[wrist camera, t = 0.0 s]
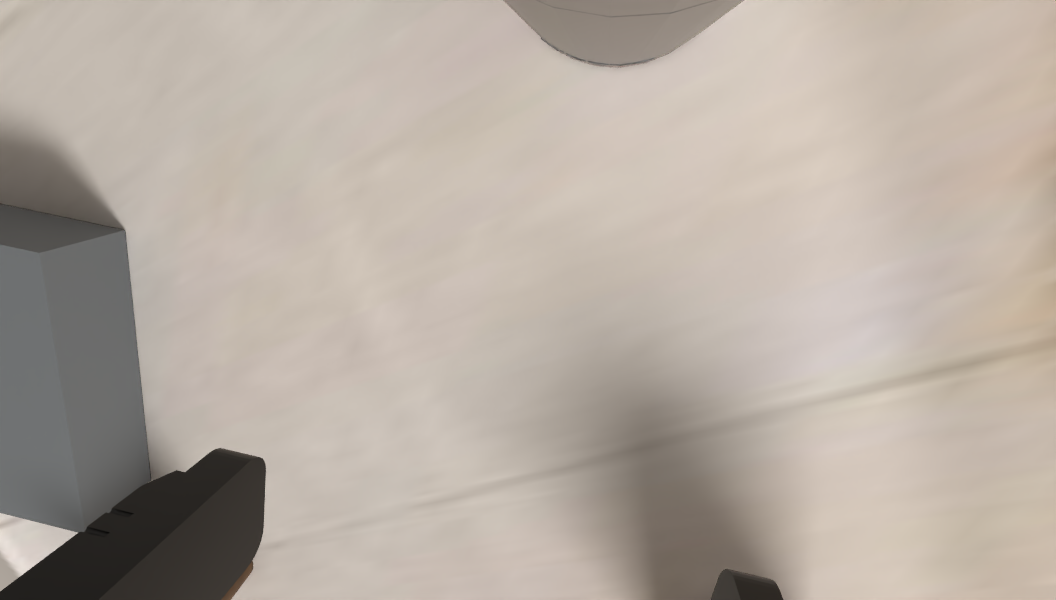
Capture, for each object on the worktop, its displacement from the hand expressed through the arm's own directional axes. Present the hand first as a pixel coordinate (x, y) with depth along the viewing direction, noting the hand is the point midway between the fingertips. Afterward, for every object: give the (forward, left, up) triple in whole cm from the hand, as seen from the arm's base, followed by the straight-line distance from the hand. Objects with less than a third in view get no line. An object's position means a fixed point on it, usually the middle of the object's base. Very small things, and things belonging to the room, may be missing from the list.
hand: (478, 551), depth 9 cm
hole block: (+11, -30, -17) cm, 36 cm away
